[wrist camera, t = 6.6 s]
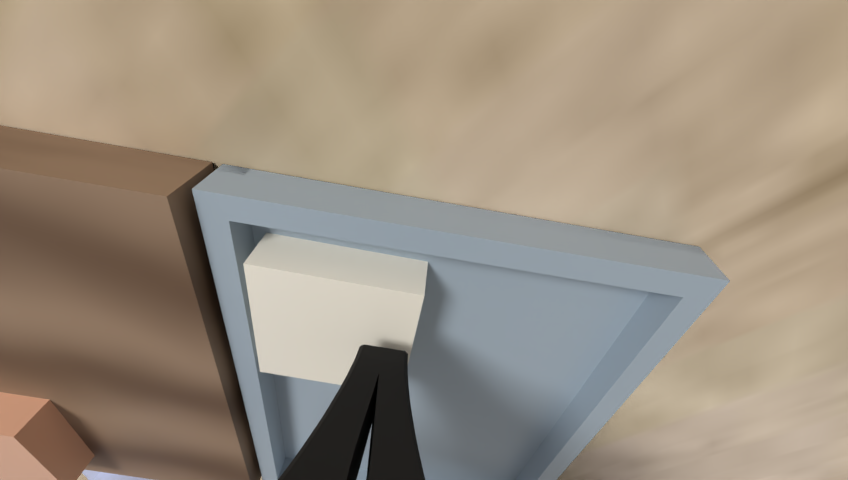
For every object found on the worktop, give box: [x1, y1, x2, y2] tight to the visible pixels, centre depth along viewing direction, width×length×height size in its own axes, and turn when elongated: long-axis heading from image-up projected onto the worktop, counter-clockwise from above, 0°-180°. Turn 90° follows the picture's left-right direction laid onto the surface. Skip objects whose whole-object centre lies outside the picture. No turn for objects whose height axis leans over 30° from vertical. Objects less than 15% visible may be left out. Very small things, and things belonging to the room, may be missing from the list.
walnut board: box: [0, 126, 261, 480], centre depth 15 cm, size 18×15×2 cm
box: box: [192, 164, 730, 480], centre depth 15 cm, size 18×14×2 cm
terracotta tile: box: [0, 392, 95, 480], centre depth 16 cm, size 5×5×2 cm
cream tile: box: [243, 233, 428, 385], centre depth 12 cm, size 5×5×2 cm
